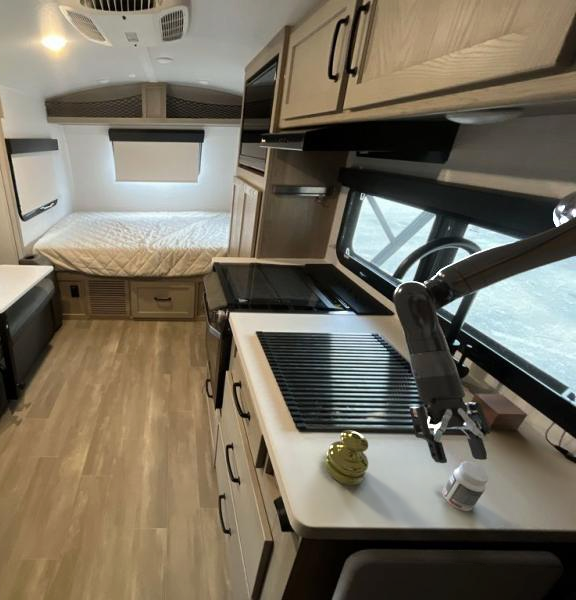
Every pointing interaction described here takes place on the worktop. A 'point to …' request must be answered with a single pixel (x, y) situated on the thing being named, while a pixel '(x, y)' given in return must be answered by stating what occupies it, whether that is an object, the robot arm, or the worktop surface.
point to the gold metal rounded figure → (348, 458)
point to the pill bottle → (465, 486)
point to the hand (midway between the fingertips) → (460, 460)
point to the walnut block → (499, 411)
